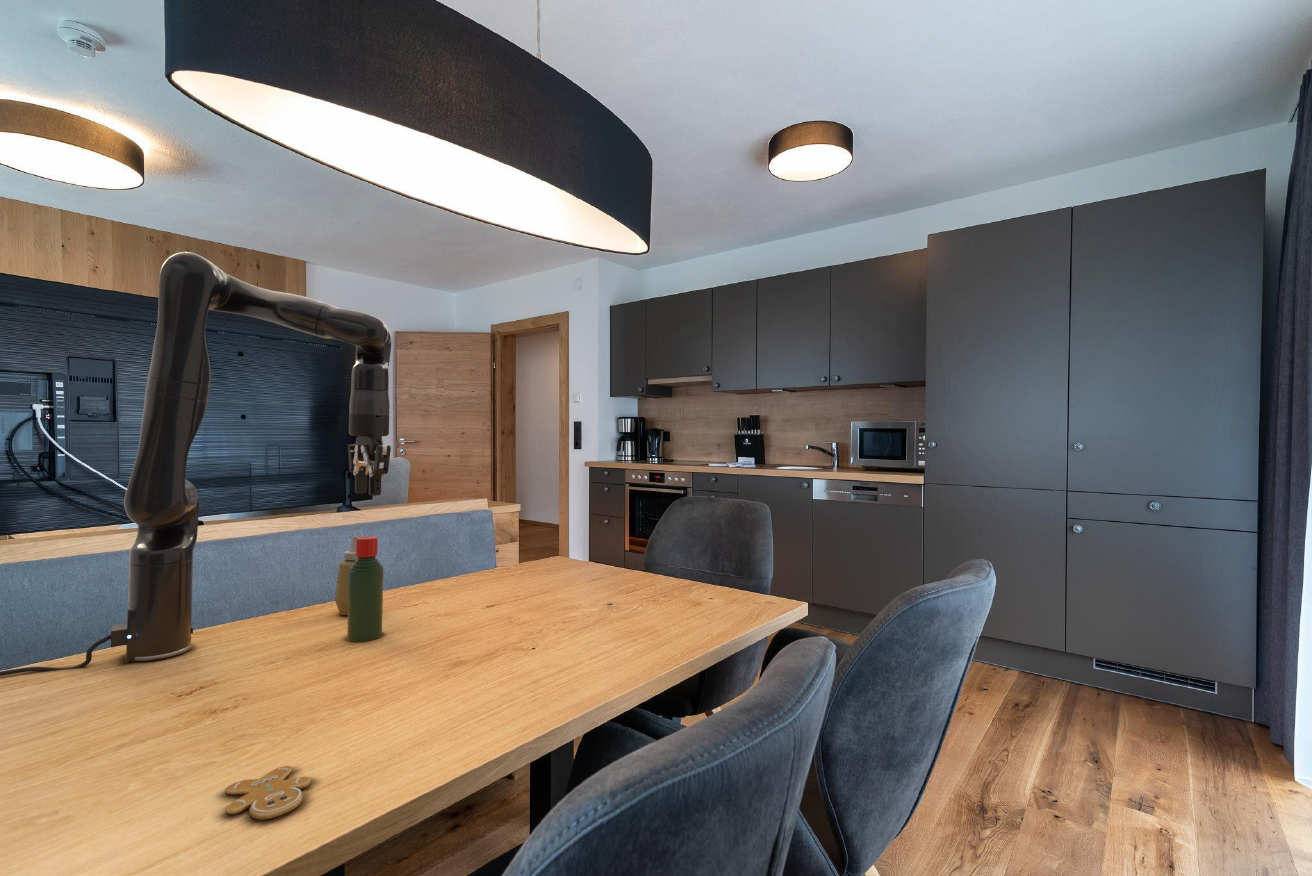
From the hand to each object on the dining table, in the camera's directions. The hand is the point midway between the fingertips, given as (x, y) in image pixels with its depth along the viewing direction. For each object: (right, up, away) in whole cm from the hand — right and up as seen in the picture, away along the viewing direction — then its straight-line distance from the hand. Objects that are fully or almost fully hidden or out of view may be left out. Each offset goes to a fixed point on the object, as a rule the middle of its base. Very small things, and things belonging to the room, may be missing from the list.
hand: (367, 494), depth 120 cm
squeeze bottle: (-11, -30, +16) cm, 36 cm away
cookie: (+16, -29, -55) cm, 64 cm away
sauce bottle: (0, -29, 0) cm, 29 cm away
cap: (0, -13, 0) cm, 13 cm away
